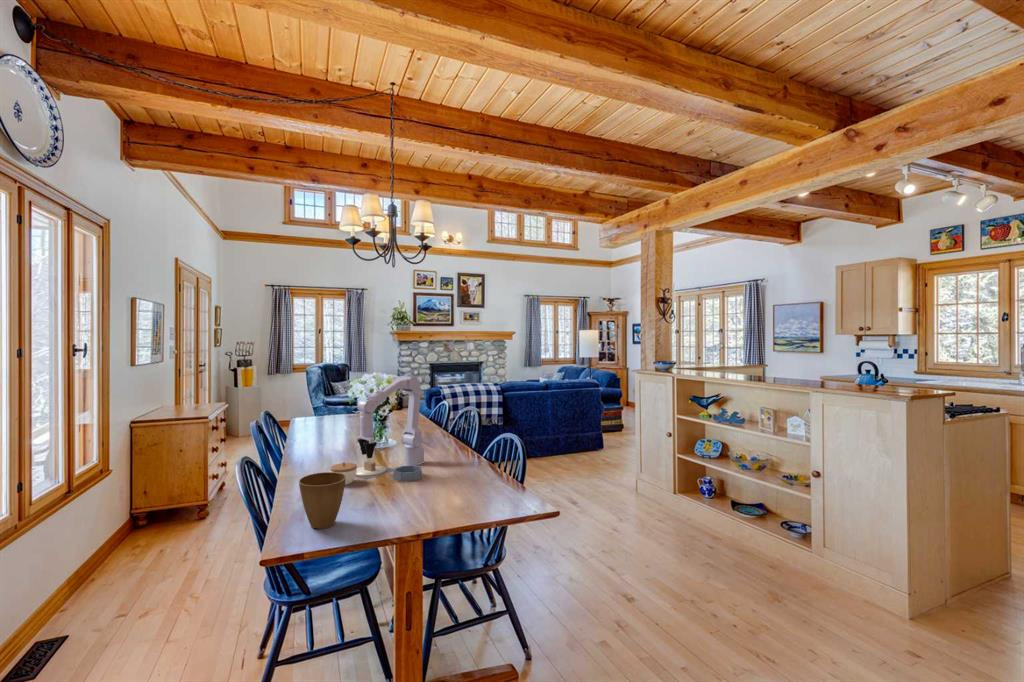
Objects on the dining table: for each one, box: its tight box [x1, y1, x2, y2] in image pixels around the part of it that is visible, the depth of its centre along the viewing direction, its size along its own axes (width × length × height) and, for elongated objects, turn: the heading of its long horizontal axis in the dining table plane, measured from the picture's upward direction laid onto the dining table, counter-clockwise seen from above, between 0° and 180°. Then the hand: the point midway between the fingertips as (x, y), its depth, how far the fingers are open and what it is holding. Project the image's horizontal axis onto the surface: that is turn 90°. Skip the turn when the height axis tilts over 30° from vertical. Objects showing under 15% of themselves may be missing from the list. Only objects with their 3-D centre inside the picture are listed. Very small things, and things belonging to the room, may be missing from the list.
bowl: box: [393, 465, 423, 483], centre depth 218 cm, size 12×12×4 cm
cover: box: [356, 460, 386, 476], centre depth 226 cm, size 15×15×4 cm
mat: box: [355, 464, 394, 480], centre depth 226 cm, size 18×18×1 cm
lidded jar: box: [330, 461, 358, 486], centre depth 208 cm, size 11×11×9 cm
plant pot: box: [298, 471, 346, 529], centre depth 164 cm, size 15×15×16 cm
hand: (367, 456), depth 218 cm, fingers open, 7 cm apart
